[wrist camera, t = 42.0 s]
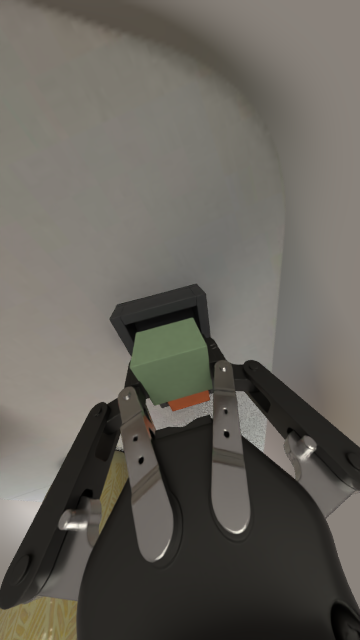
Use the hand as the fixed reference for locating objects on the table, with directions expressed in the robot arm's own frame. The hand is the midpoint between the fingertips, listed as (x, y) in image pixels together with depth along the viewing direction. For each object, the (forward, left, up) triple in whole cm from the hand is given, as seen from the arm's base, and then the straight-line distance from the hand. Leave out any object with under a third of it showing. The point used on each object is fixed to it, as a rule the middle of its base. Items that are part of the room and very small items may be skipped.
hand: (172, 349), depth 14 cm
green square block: (0, 0, -1) cm, 1 cm away
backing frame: (0, +4, -4) cm, 6 cm away
